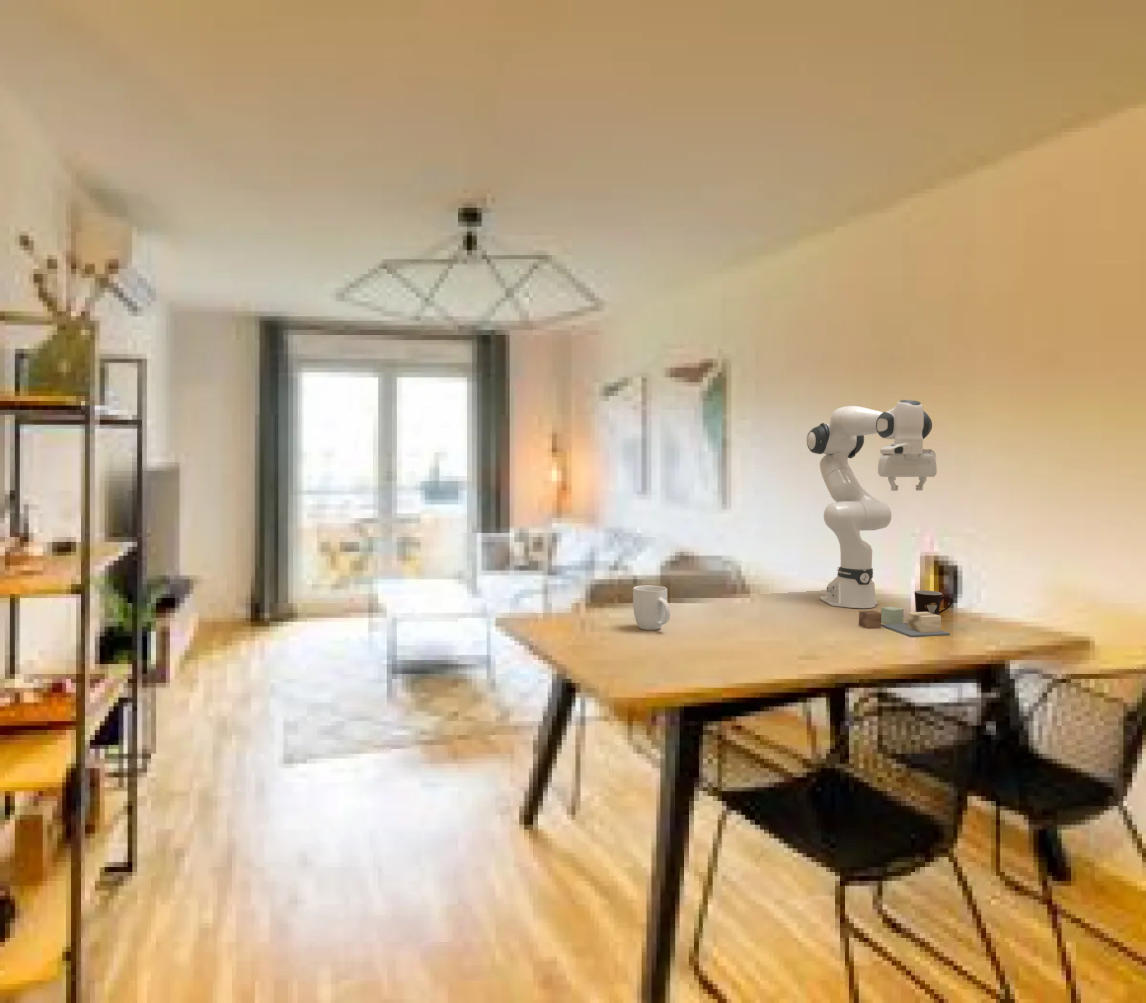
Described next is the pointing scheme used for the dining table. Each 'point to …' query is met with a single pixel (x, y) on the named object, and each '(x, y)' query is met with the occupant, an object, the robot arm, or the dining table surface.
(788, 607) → the dining table surface
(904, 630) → the mat
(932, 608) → the coffee mug
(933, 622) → the base block
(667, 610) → the mug
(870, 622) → the walnut block
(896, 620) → the sage block
